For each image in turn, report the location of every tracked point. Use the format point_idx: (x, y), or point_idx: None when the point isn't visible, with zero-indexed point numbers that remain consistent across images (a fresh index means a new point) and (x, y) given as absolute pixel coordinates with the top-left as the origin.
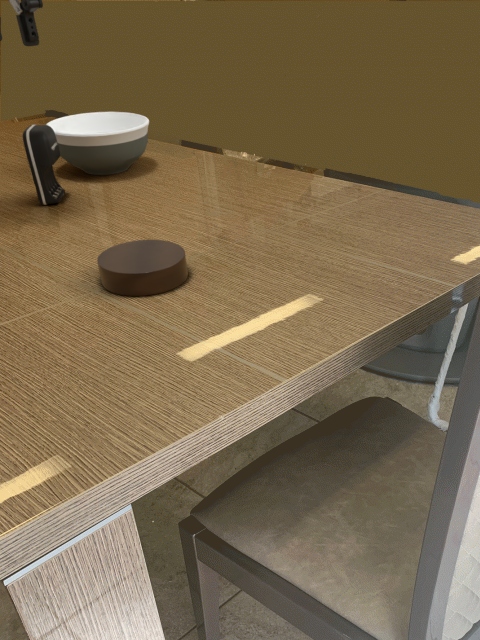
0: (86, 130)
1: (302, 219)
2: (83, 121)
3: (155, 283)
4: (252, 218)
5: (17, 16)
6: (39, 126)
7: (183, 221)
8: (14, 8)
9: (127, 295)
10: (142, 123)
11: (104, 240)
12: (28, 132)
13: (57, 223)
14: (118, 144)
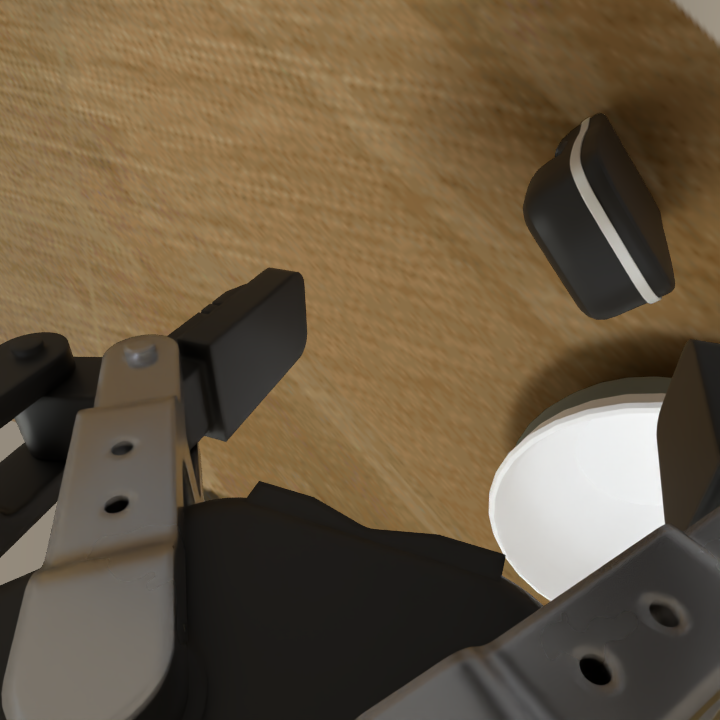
0: None
1: (92, 303)
2: None
3: None
4: (143, 274)
5: (200, 337)
6: (598, 272)
7: (215, 203)
8: (169, 360)
9: None
10: (561, 584)
11: (246, 5)
12: (581, 190)
13: (438, 24)
14: (520, 442)
